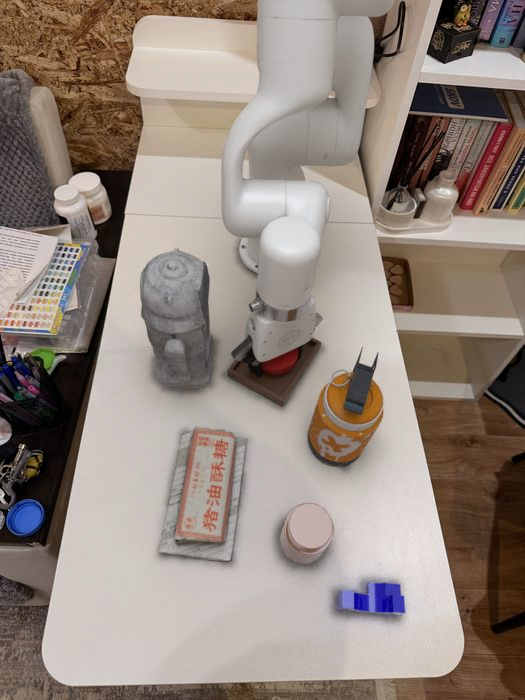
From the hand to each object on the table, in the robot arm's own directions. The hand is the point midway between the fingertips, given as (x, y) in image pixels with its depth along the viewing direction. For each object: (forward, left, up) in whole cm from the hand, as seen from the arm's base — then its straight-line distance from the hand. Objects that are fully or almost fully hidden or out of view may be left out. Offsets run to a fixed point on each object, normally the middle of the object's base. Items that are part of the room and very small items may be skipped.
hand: (275, 360), depth 86 cm
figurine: (+8, -13, -1) cm, 15 cm away
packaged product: (+24, +3, -1) cm, 25 cm away
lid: (0, 0, +3) cm, 3 cm away
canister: (+6, +15, -1) cm, 16 cm away
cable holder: (+25, +29, -1) cm, 38 cm away
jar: (+23, +18, -1) cm, 29 cm away
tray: (0, 0, -1) cm, 1 cm away
